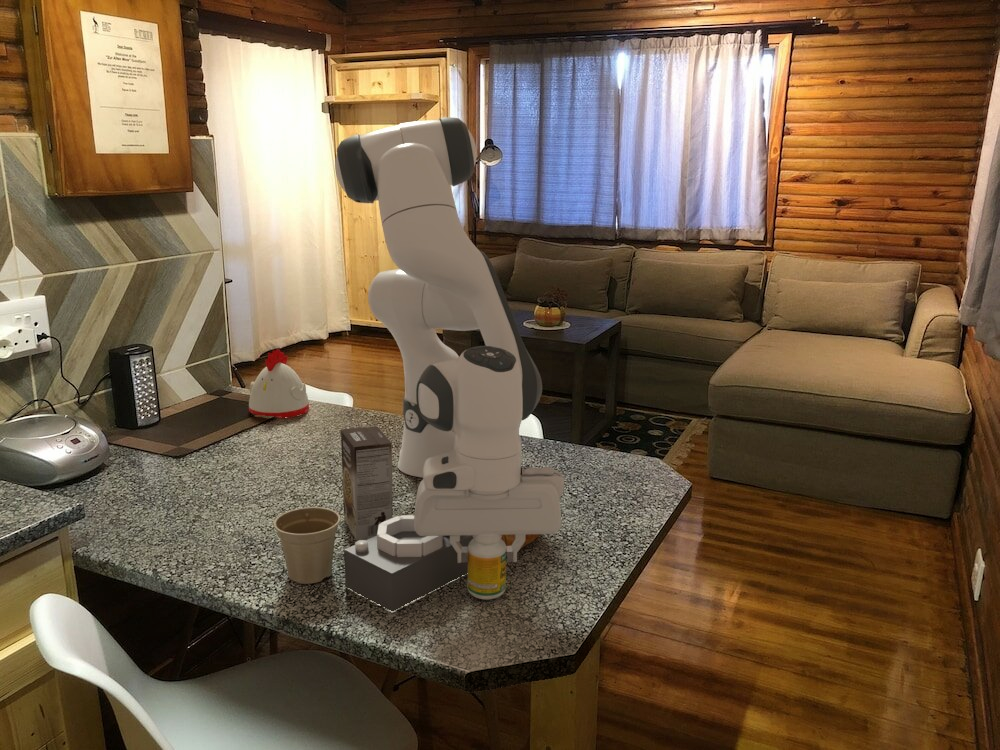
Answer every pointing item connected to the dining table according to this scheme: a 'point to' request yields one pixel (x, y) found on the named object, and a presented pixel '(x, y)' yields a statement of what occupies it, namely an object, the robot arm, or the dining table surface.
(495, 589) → the supplement bottle
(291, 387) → the kitchen timer
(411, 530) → the camera body
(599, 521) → the dining table surface
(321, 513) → the flower pot
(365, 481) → the coffee box
